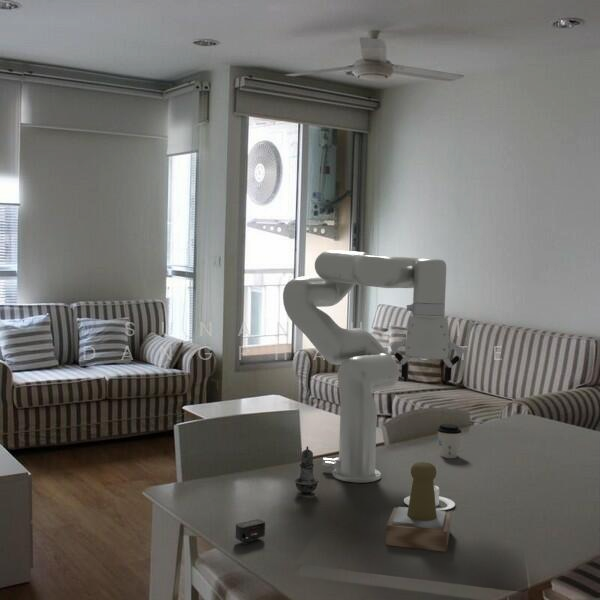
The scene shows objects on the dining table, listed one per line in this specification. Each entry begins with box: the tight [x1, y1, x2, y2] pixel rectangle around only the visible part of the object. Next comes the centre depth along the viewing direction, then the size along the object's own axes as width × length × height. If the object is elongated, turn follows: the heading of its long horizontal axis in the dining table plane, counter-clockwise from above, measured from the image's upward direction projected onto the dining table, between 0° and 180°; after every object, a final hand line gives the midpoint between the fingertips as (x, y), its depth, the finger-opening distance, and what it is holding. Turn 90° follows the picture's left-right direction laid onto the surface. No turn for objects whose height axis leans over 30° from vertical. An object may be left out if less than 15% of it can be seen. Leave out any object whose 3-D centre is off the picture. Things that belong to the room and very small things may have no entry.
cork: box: [407, 461, 437, 521], centre depth 164 cm, size 6×6×11 cm
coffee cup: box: [436, 423, 462, 459], centre depth 229 cm, size 7×7×10 cm
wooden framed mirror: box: [385, 506, 452, 553], centre depth 164 cm, size 12×12×5 cm
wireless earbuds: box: [234, 518, 266, 545], centre depth 161 cm, size 4×7×3 cm, turn 129°
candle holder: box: [403, 485, 456, 511], centre depth 187 cm, size 12×12×4 cm
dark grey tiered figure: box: [293, 445, 320, 500], centre depth 191 cm, size 6×6×12 cm
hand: (425, 381), depth 190 cm, fingers open, 9 cm apart
